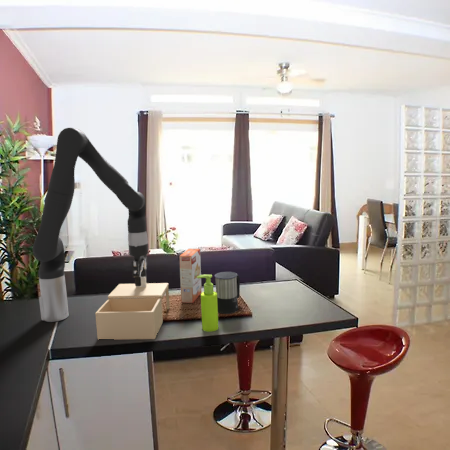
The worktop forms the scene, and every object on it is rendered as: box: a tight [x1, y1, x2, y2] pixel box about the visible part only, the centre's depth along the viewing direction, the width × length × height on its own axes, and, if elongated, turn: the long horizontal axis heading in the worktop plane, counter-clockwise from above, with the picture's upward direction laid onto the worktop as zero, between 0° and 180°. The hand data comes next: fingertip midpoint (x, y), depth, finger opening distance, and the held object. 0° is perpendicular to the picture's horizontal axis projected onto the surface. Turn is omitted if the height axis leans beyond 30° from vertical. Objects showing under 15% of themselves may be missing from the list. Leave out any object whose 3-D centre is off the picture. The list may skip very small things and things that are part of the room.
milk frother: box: [214, 271, 241, 315], centre depth 162 cm, size 14×16×15 cm
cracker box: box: [179, 248, 202, 304], centre depth 173 cm, size 14×6×21 cm, turn 168°
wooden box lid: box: [107, 276, 169, 298], centre depth 155 cm, size 20×14×5 cm
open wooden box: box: [95, 286, 170, 341], centre depth 149 cm, size 20×28×10 cm
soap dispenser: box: [197, 274, 219, 333], centre depth 141 cm, size 6×7×20 cm
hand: (141, 282), depth 158 cm, fingers open, 8 cm apart
